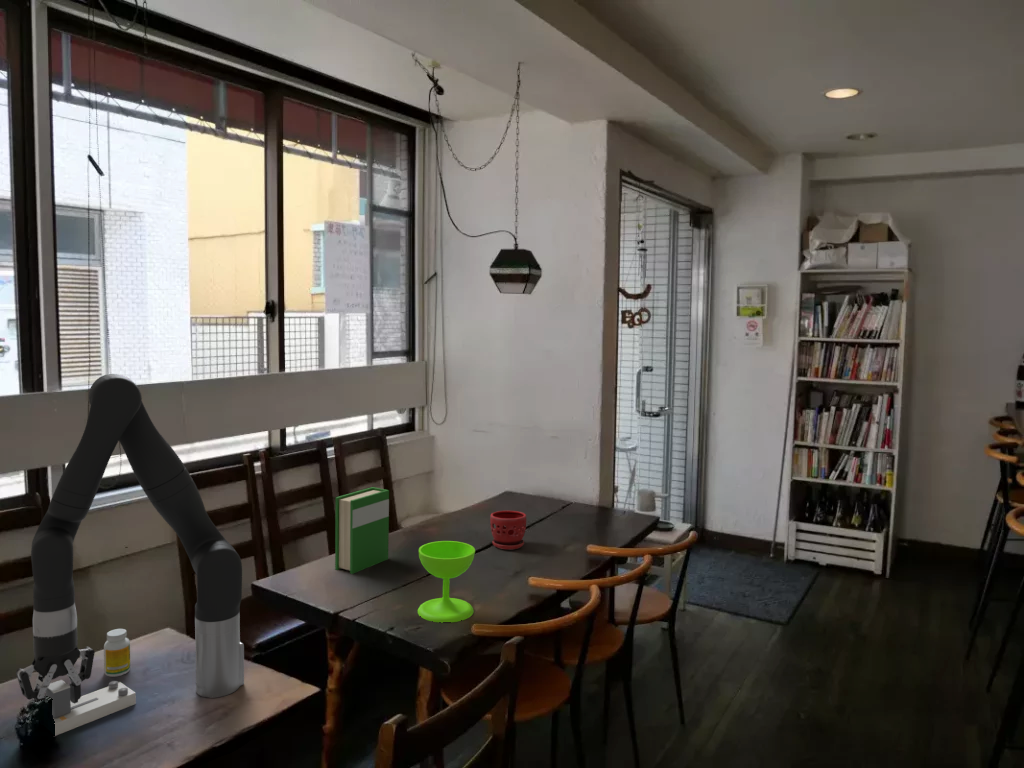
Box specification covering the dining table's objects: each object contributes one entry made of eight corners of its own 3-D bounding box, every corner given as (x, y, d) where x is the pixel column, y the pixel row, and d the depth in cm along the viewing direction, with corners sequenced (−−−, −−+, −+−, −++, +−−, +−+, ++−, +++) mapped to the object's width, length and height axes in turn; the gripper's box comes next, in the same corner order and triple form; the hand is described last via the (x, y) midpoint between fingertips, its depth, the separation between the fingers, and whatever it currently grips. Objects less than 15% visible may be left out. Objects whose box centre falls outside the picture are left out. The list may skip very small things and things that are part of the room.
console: (120, 692, 165) (119, 677, 164) (135, 703, 160) (135, 688, 160) (39, 723, 152) (39, 707, 152) (54, 736, 148) (53, 719, 148)
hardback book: (352, 574, 241) (352, 501, 238) (335, 569, 245) (335, 497, 242) (388, 559, 256) (389, 490, 253) (371, 554, 260) (372, 487, 257)
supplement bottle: (101, 671, 174) (99, 631, 173) (125, 664, 178) (124, 625, 177) (109, 679, 170) (108, 639, 169) (134, 672, 174) (133, 632, 173)
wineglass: (484, 608, 217) (486, 547, 215) (452, 627, 203) (453, 563, 201) (439, 596, 225) (440, 537, 223) (405, 613, 211) (406, 551, 209)
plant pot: (532, 544, 276) (533, 513, 274) (513, 554, 265) (514, 521, 263) (502, 538, 283) (503, 507, 281) (482, 547, 271) (483, 514, 270)
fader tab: (62, 705, 154) (61, 679, 153) (70, 712, 151) (70, 686, 151) (46, 711, 152) (45, 685, 151) (54, 718, 149) (53, 692, 148)
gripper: (85, 611, 158) (87, 688, 159) (6, 633, 146) (10, 716, 148) (101, 621, 153) (103, 700, 155) (22, 645, 142) (25, 729, 143)
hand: (58, 707), depth 151 cm, fingers open, 5 cm apart
